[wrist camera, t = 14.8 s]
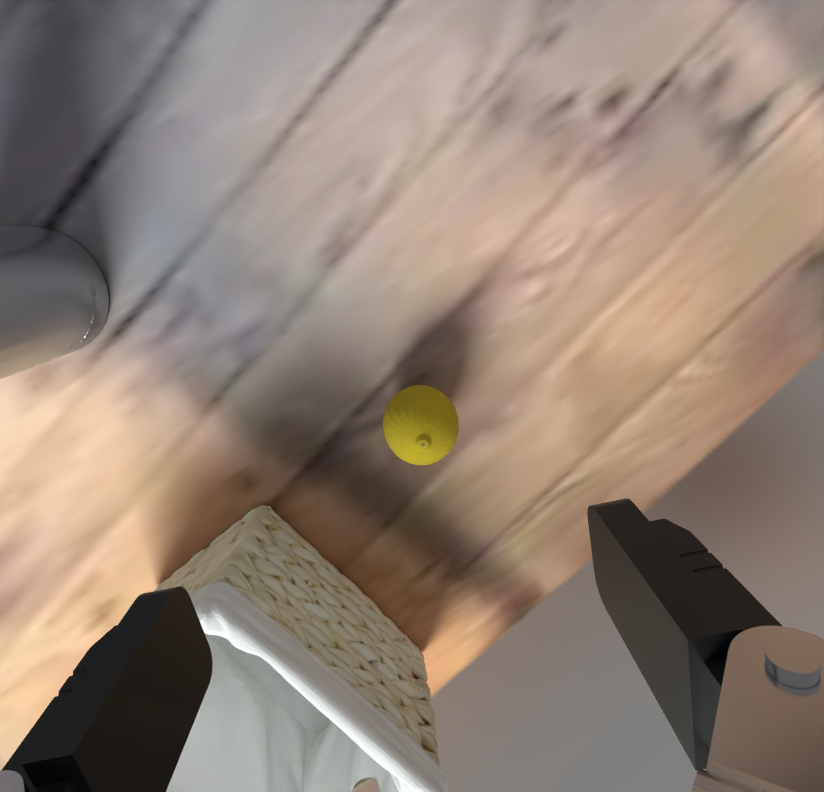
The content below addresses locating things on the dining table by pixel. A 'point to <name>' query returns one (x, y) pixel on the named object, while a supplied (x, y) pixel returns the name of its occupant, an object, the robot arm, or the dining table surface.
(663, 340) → the dining table surface
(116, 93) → the dining table surface
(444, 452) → the lemon
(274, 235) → the dining table surface
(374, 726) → the storage basket
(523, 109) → the dining table surface
